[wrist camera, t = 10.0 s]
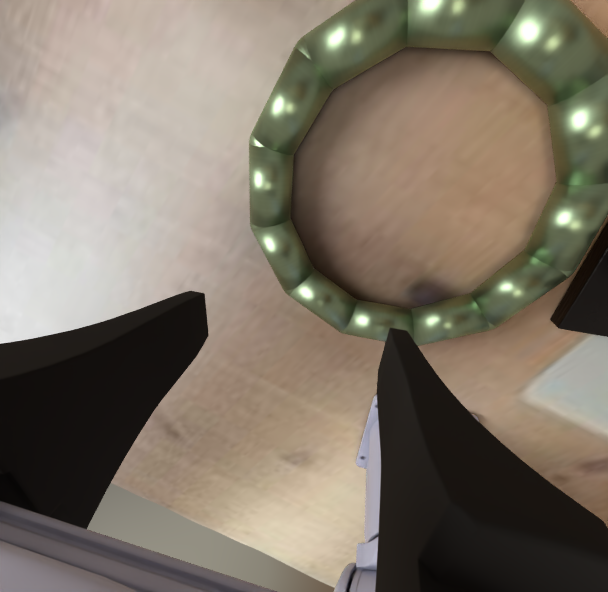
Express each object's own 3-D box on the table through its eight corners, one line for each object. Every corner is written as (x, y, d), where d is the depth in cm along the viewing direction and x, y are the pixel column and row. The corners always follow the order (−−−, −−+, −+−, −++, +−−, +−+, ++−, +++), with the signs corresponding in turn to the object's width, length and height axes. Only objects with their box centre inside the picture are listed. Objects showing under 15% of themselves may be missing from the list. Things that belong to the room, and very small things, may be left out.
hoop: (509, 351, 20) (524, 376, 18) (257, 304, 23) (245, 322, 21) (707, -13, 11) (779, -44, 9) (258, -22, 14) (237, -49, 12)
